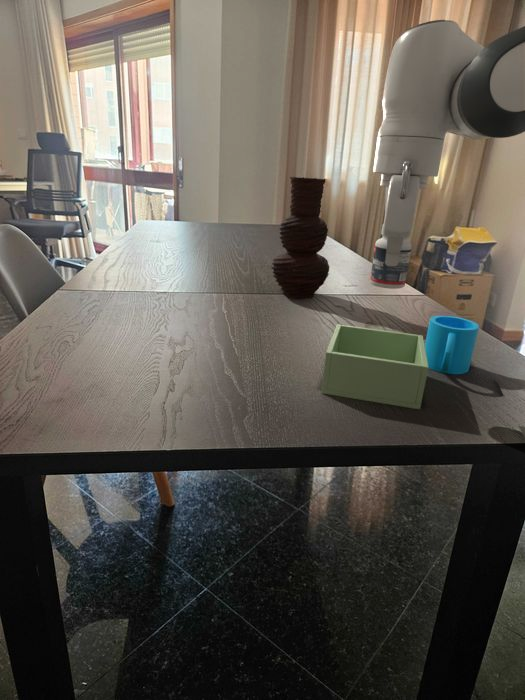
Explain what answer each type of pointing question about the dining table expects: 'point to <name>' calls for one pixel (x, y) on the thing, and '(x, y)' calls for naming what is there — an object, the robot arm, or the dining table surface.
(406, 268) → the pill bottle
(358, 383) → the basket
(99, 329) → the dining table surface
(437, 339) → the mug
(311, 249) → the vase
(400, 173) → the robot arm
